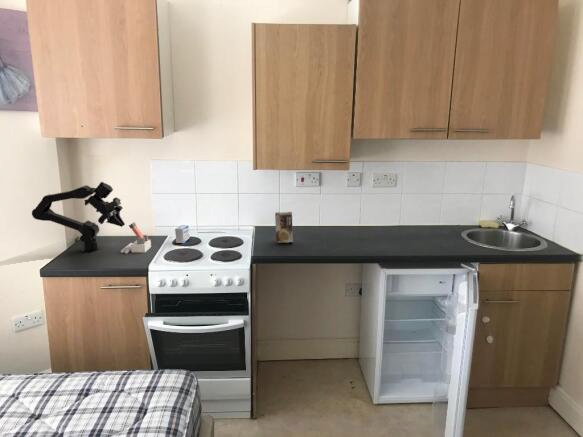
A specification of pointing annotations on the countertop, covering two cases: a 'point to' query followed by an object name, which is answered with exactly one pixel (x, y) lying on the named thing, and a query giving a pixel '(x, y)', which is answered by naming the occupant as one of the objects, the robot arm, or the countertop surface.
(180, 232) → the medicine box
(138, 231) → the lever
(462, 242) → the countertop surface
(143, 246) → the switch box
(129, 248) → the cables
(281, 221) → the coffee box
